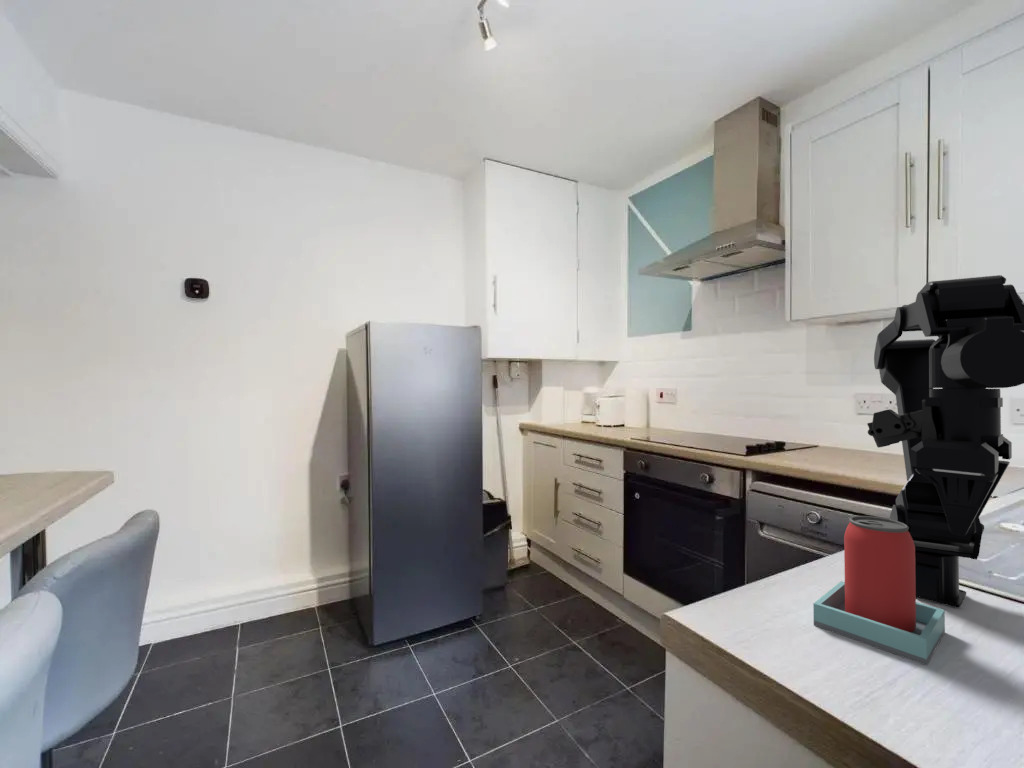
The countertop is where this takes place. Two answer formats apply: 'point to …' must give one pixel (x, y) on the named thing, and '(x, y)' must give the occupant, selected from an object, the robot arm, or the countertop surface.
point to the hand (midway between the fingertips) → (964, 526)
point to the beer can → (880, 571)
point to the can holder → (882, 627)
